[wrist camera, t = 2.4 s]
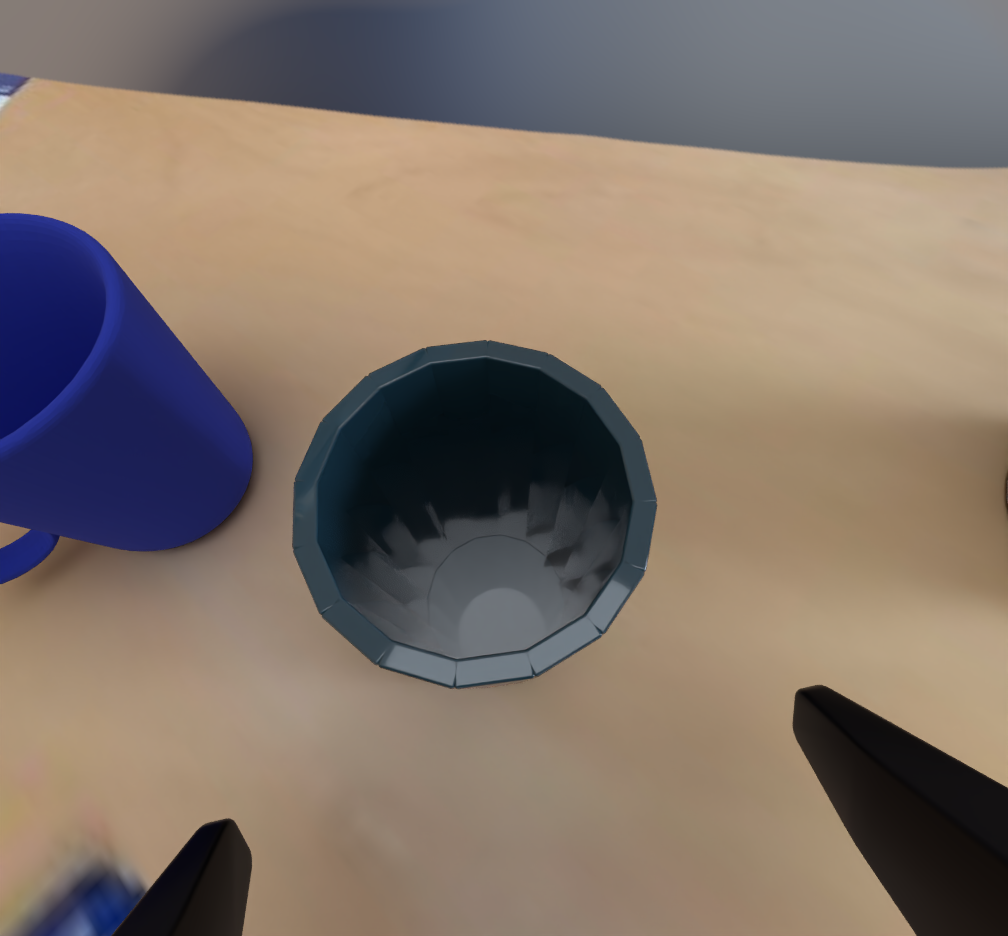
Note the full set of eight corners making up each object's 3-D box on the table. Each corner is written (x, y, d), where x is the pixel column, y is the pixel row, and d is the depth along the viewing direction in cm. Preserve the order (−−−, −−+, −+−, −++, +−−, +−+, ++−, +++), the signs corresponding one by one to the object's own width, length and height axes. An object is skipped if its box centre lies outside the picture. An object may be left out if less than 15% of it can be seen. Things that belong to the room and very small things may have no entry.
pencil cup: (552, 706, 19) (618, 738, 7) (399, 660, 19) (228, 622, 8) (586, 550, 21) (679, 379, 9) (446, 514, 22) (368, 312, 10)
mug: (-42, 539, 21) (-461, 428, 12) (213, 361, 25) (31, 165, 15) (49, 697, 19) (-385, 707, 10) (318, 479, 22) (179, 332, 13)
